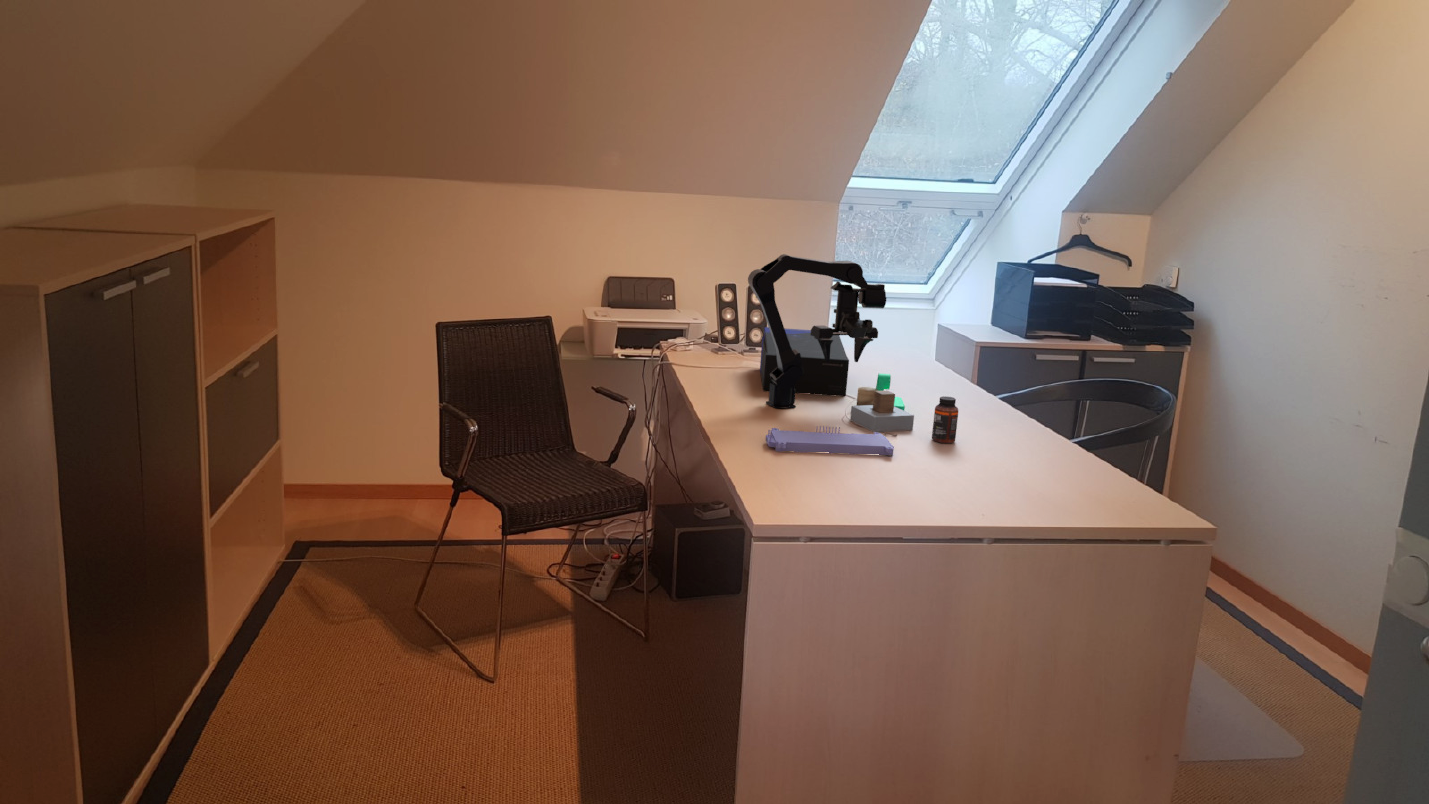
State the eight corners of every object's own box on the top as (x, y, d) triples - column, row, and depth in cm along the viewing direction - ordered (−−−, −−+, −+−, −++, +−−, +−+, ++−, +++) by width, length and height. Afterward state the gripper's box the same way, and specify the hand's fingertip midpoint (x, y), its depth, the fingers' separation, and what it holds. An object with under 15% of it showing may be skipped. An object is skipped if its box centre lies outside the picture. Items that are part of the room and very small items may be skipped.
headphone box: (834, 373, 346) (838, 330, 343) (845, 397, 312) (850, 349, 309) (759, 368, 346) (762, 325, 343) (762, 391, 312) (766, 344, 309)
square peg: (871, 423, 282) (874, 390, 280) (884, 423, 283) (887, 390, 281) (878, 427, 278) (882, 394, 276) (891, 426, 280) (895, 394, 278)
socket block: (873, 432, 273) (875, 417, 272) (850, 420, 284) (851, 405, 283) (912, 429, 278) (914, 415, 277) (888, 418, 289) (889, 404, 288)
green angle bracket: (904, 415, 294) (908, 379, 291) (876, 413, 294) (880, 377, 292) (900, 406, 305) (903, 371, 303) (873, 403, 306) (877, 369, 304)
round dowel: (862, 412, 293) (864, 391, 292) (852, 407, 298) (854, 387, 297) (879, 412, 296) (881, 391, 294) (869, 407, 301) (871, 386, 299)
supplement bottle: (956, 440, 271) (961, 397, 268) (953, 445, 265) (958, 401, 263) (933, 436, 273) (937, 394, 270) (929, 441, 267) (934, 398, 264)
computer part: (762, 437, 262) (769, 454, 248) (763, 421, 261) (771, 437, 247) (880, 442, 265) (894, 459, 250) (882, 426, 264) (896, 442, 249)
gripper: (831, 311, 280) (826, 369, 284) (891, 311, 288) (885, 367, 291) (812, 305, 290) (807, 360, 294) (870, 305, 298) (864, 359, 301)
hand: (841, 362), depth 295 cm, fingers open, 9 cm apart
